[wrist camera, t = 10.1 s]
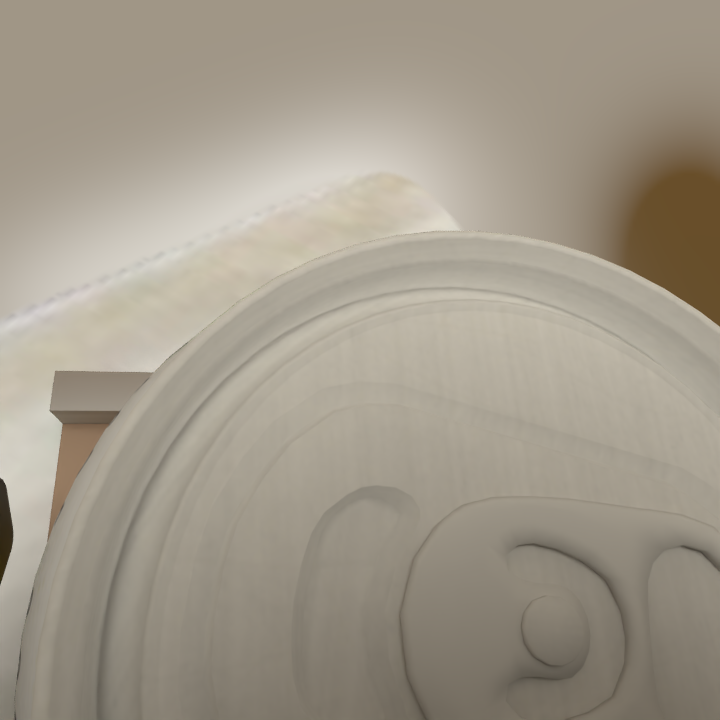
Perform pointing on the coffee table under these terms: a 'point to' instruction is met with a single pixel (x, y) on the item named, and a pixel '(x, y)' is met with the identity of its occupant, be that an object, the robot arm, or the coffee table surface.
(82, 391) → the frame
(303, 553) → the beer can
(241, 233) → the coffee table surface
